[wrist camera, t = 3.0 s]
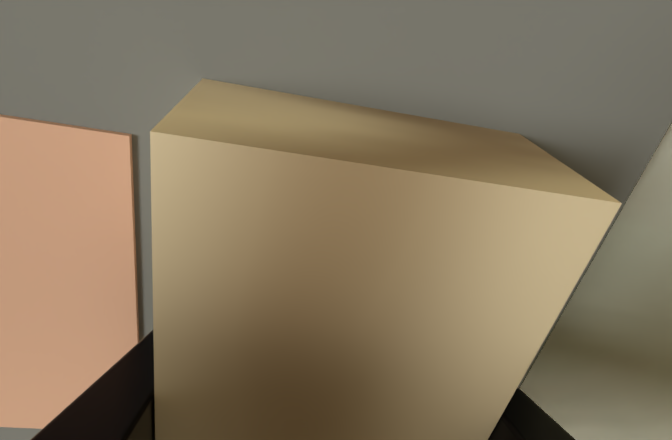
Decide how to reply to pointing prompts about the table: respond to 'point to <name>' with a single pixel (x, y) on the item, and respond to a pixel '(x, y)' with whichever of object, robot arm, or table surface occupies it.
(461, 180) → the maple tile
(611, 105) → the mat
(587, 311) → the table surface
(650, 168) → the table surface
